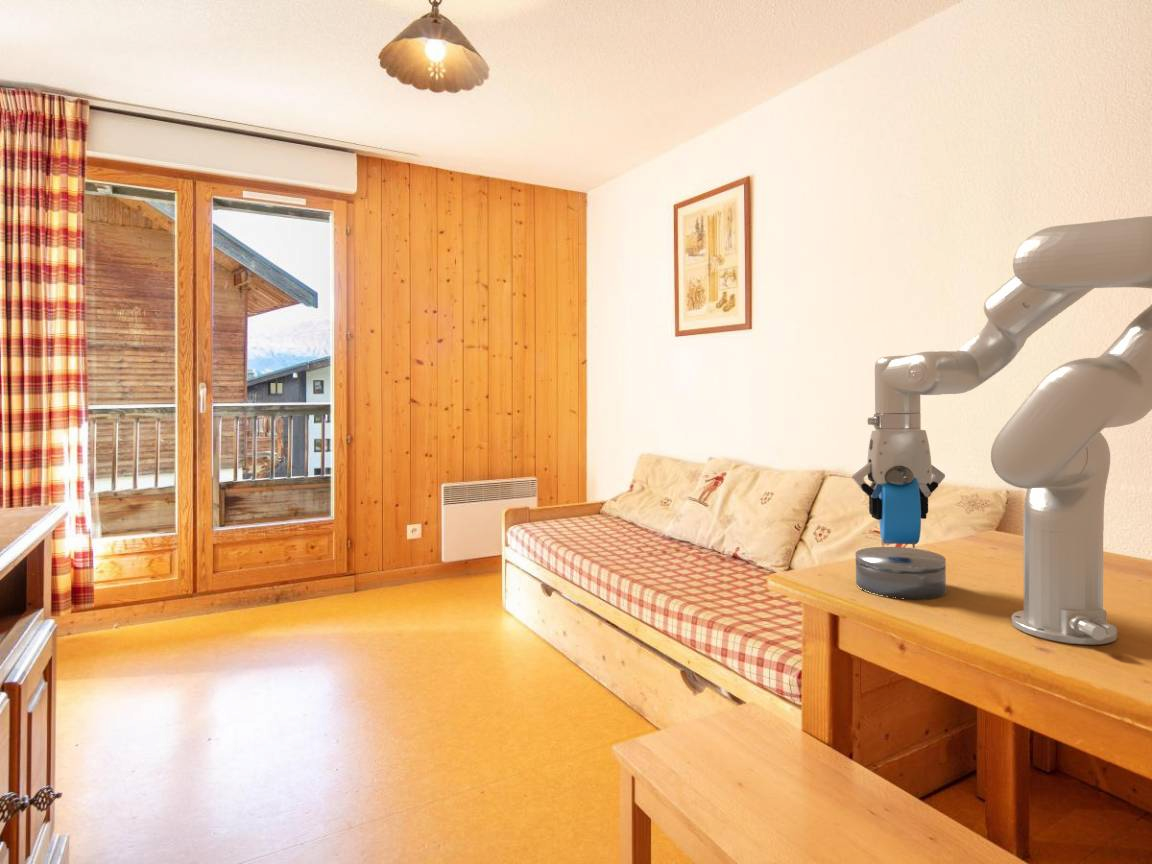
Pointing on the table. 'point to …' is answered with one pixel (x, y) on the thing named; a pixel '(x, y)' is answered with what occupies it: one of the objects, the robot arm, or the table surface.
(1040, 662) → the table surface
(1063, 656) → the table surface
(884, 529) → the alarm clock
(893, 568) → the round tin
